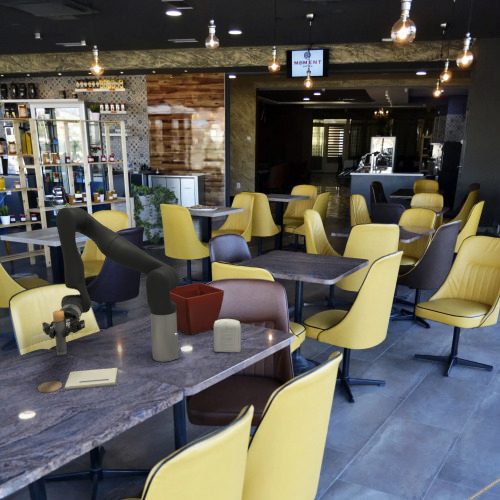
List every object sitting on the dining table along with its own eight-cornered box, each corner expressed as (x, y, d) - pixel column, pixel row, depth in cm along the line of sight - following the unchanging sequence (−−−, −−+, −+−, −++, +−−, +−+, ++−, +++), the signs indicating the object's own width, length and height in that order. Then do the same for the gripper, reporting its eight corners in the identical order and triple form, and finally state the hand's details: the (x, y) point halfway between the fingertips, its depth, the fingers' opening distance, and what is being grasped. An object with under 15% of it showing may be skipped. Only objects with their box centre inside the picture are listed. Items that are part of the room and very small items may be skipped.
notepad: (118, 370, 169) (118, 367, 168) (116, 385, 157) (116, 382, 157) (69, 374, 166) (69, 371, 165) (63, 390, 154) (63, 387, 154)
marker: (68, 350, 158) (64, 310, 155) (66, 354, 155) (62, 313, 152) (57, 351, 157) (53, 310, 155) (55, 355, 154) (51, 313, 152)
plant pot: (200, 318, 223) (199, 281, 220) (226, 328, 209) (225, 290, 205) (163, 327, 211) (161, 289, 208) (187, 339, 197) (186, 298, 193)
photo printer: (241, 348, 186) (241, 317, 184) (240, 353, 182) (240, 321, 180) (214, 348, 187) (213, 317, 185) (213, 352, 183) (212, 321, 181)
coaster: (63, 381, 160) (63, 380, 160) (59, 391, 153) (59, 389, 153) (40, 383, 159) (40, 382, 159) (36, 393, 152) (35, 392, 152)
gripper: (45, 308, 167) (32, 325, 150) (88, 305, 169) (80, 322, 152) (47, 329, 168) (35, 348, 151) (90, 326, 170) (82, 344, 154)
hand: (58, 335), depth 152 cm, fingers closed on marker, 3 cm apart
